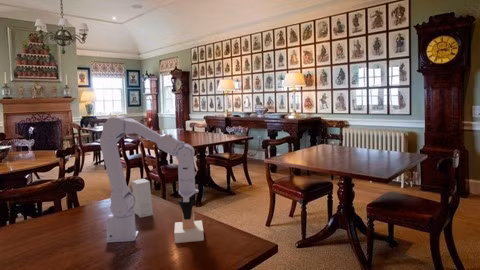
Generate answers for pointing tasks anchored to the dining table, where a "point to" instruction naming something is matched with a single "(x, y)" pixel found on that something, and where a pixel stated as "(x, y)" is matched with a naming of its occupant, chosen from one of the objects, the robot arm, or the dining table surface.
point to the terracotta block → (188, 221)
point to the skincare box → (142, 197)
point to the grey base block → (189, 232)
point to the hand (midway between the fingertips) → (188, 215)
